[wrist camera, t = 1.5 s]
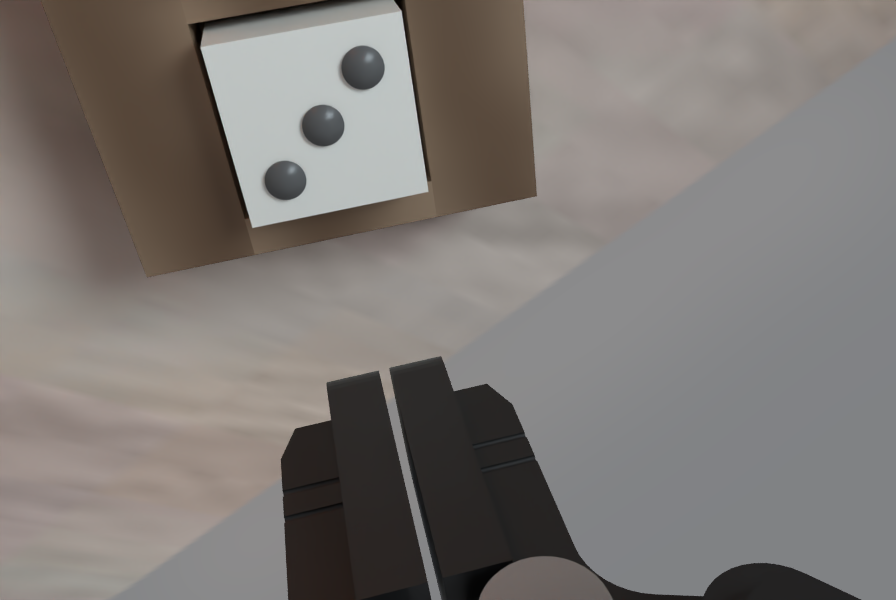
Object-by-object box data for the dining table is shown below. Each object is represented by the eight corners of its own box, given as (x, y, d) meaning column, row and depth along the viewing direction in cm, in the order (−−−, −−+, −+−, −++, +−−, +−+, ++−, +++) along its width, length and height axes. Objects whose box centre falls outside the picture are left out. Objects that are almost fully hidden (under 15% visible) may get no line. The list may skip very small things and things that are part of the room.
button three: (386, -10, 22) (402, 11, 20) (412, 157, 25) (429, 193, 23) (205, 22, 22) (200, 48, 20) (251, 190, 25) (252, 229, 22)
